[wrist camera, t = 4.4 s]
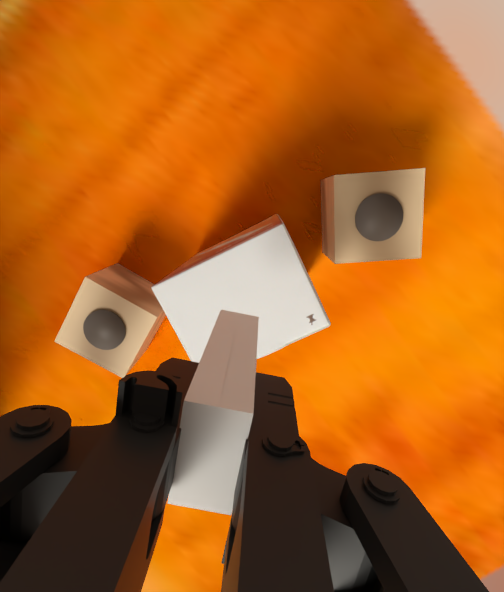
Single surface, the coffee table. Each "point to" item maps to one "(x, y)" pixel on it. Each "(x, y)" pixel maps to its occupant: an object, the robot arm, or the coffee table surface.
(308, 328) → the small box
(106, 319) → the marked block
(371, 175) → the marked block
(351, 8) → the coffee table surface
